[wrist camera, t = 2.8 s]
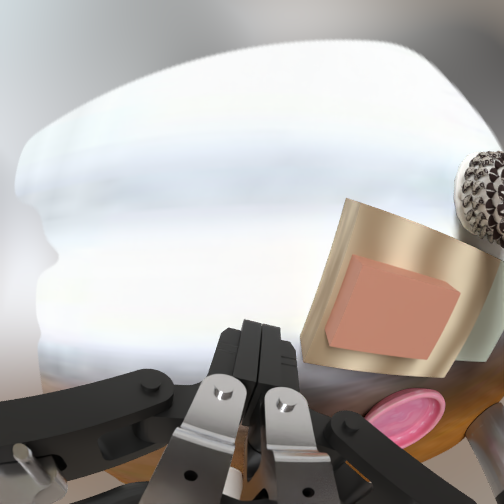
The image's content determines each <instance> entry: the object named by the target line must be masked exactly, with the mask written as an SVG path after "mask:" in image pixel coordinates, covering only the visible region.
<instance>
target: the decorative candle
mask: <svg viewBox="0 0 504 504" xmlns="http://www.w3.org/2000/svg"><path fill="white" fill-rule="evenodd" d="M454 202H455V207H456V212H457V216H458V217H459V219H460V221H461V223H462V225H463V227H464V228H465V229H467V230H468V231H469V232H470V233H472V234H473V235H479V237H480V238H481V239H483V237H484V236H486V235H487V239H488V240H489V242H490V243H493V241H494V240H495V241H497V244H499V245H501V247H503V248H504V152H502V151H497V152H491V151H488V152H476V153H473V154H470V155H467V156H466V158H465V159H464V160H463V161H462V163H461V164H460V165H459V168H458V171H457V174H456V177H455V180H454Z"/></svg>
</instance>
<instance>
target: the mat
mask: <svg viewBox="0 0 504 504" xmlns="http://www.w3.org/2000/svg"><path fill="white" fill-rule="evenodd" d="M503 330H504V261H502V260H501V262H500V265H499V268H498V270H497V273H496V276H495V279H494V281H493V284H492V286H491V289H490V291H489V294H488V296H487V299H486V301H485V303H484V305H483V308H482V310H481V312H480V314H479V316H478V318H477V320H476V323H475V325H474V327H473V329H472V330H471V332H470V334H469V336H468V338H467V340H466V342H465V344H464V345H463V347H462V349H461V351H460V352H459V354H458V356H457V358H456V359H455V360H459V361H476V362H486V361H487V359H488V357H489V356H490V354H491V352H492V350H493V349H494V347H495V345H496V343H497V341H498V339H499V338H500V336H501V334H502V332H503Z"/></svg>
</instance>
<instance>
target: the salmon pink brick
mask: <svg viewBox="0 0 504 504" xmlns="http://www.w3.org/2000/svg"><path fill="white" fill-rule="evenodd" d="M460 294H461V293H460V292H459V291H458V290H456V289H455V288H454V287H452V286H451V285H450V284H448V283H447V282H445V281H442V280H439V279H436V278H432V277H429V276H426V275H423V274H419V273H416V272H413V271H409V270H406V269H403V268H399V267H396V266H392V265H389V264H386V263H382V262H379V261H375V260H372V259H368V258H365V257H361V256H358V255H354V254H352V257H351V260H350V263H349V266H348V268H347V271H346V274H345V277H344V280H343V282H342V285H341V288H340V291H339V293H338V296H337V298H336V301H335V304H334V306H333V309H332V311H331V314H330V316H329V319H328V321H327V324H326V326H325V332H326V335H327V339H328V342H329V346H331V347H337V348H343V349H349V350H355V351H361V352H367V353H374V354H381V355H389V356H396V357H405V358H413V359H423V360H427V359H428V358H429V356H430V354H431V352H432V351H433V349H434V347H435V345H436V343H437V342H438V340H439V338H440V336H441V334H442V332H443V330H444V328H445V326H446V324H447V322H448V320H449V318H450V316H451V314H452V312H453V310H454V308H455V306H456V303H457V301H458V299H459V296H460Z"/></svg>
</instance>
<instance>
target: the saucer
mask: <svg viewBox="0 0 504 504" xmlns="http://www.w3.org/2000/svg"><path fill="white" fill-rule="evenodd" d="M444 410H445V400H444V398H443V396H442V395H441V394H440V393H439V392H437V391H435V390H432V389H424V388H420V389H419V388H410V389H405V390H401V391H398V392H396V393H394V394H391V395H389V396H388V397H386V398H384V399H383V400H381V401H380V402H378V403H377V404H376V405H375V406H374V407H373V408H371V410H370V411H369V412H368V413H367V415H366V416H365V417H364V418H365V419H366V420H367V421H368V422H370V423H371V424H372V425H373V426H374V427H376V428H377V429H378V430H379V431H381V432H382V433H383V434H384V435H386V436H387V437H388V438H389V439H391V440H392V441H393V442H394V443H396V444H397V445H398V446H399V447H401V448H402V449H403V448H405V447H407V446H409V445H411V444H413V443H415V442H416V441H418V440H419V439H421V438H422V437H424V436H425V435H426V434H427V433H428V432H430V431H431V430H432V429H433V428H434V427H435V425H436V424H437V423H438V422H439V420H440V419H441V417H442V415H443V413H444Z"/></svg>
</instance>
